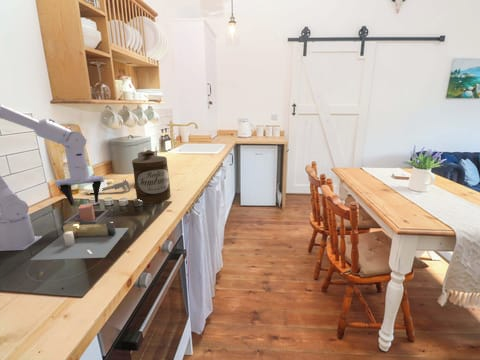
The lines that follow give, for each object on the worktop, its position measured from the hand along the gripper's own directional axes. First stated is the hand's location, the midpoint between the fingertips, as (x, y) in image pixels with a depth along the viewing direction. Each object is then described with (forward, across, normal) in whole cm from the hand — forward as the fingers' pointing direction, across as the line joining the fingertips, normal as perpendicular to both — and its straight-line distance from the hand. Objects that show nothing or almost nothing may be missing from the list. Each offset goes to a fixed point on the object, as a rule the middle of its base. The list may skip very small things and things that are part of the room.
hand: (84, 203), depth 94 cm
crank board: (+8, +2, -18) cm, 20 cm away
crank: (+6, +3, -15) cm, 16 cm away
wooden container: (+8, +24, +18) cm, 31 cm away
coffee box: (+7, +25, +50) cm, 56 cm away
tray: (+7, 0, 0) cm, 7 cm away
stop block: (+7, 0, 0) cm, 7 cm away
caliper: (+8, +4, +36) cm, 37 cm away
